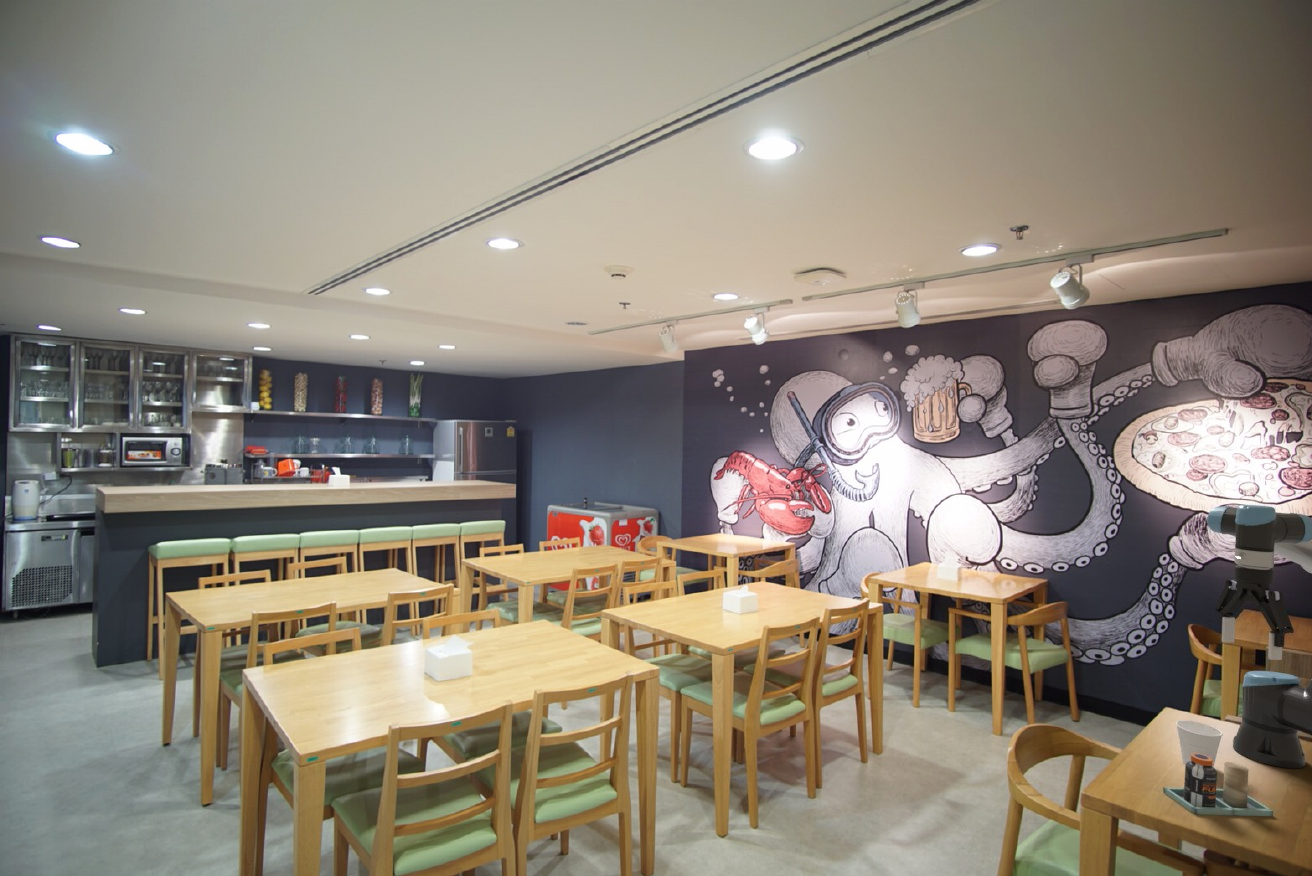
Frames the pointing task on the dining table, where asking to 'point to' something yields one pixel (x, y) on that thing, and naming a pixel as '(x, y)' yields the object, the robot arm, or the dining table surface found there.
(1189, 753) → the cup
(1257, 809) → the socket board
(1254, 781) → the dining table surface
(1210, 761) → the pill bottle
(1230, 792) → the beech dowel
